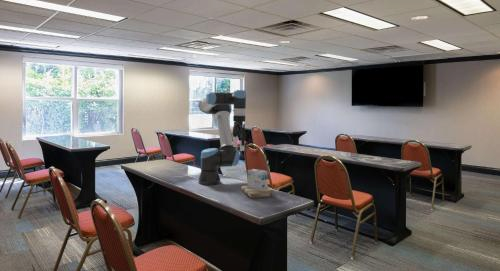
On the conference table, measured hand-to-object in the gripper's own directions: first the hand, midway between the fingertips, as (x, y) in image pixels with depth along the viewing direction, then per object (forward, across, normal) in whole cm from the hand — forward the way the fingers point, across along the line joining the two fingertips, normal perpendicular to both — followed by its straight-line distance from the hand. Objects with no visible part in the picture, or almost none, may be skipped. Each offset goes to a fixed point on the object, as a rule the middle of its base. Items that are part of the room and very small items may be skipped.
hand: (238, 148), depth 211 cm
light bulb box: (+22, +14, +8) cm, 27 cm away
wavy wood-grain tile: (+26, +14, +8) cm, 31 cm away
